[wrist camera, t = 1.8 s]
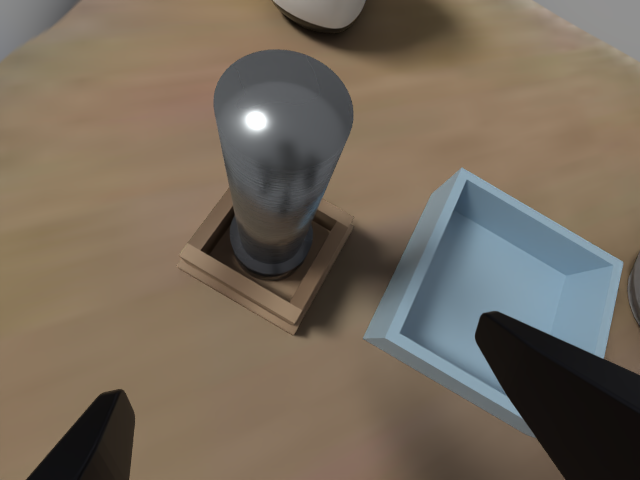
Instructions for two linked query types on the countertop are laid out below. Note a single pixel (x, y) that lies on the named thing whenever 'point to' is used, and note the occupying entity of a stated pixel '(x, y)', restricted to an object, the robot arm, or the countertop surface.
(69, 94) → the countertop surface
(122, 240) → the countertop surface
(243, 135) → the grey rounded cylinder
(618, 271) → the bin
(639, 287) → the coffee pot
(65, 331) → the countertop surface
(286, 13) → the spread jar
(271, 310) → the socket block
